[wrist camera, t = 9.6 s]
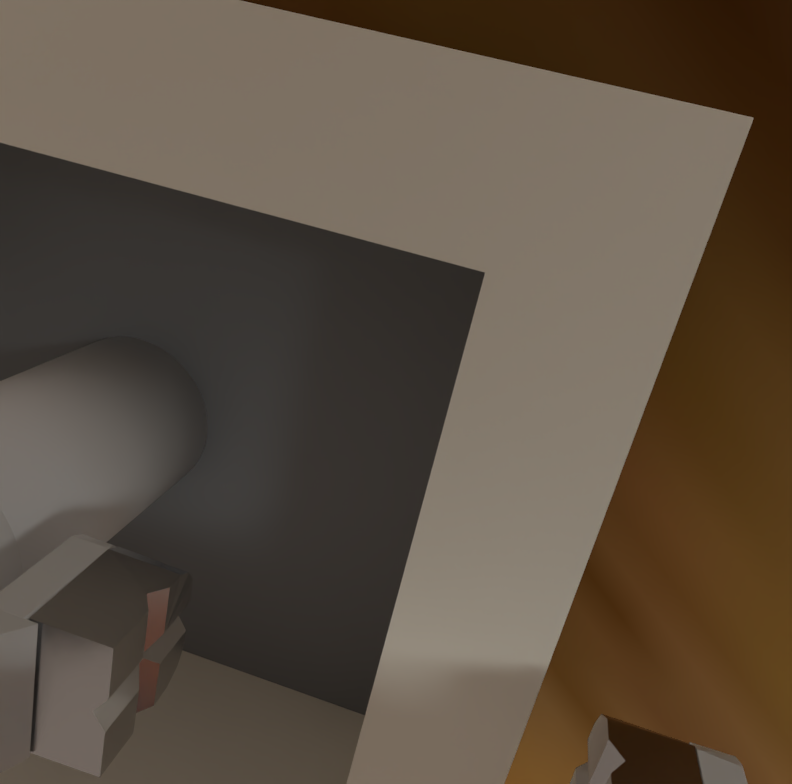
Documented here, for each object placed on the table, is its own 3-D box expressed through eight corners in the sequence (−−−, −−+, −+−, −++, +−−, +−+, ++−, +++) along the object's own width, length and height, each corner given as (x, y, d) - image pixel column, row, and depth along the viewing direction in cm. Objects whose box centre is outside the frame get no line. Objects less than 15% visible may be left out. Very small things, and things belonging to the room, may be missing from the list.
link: (688, 128, 10) (753, 117, 7) (447, 824, 15) (408, 1039, 12) (-157, -69, 12) (-470, -163, 9) (-130, 610, 17) (-322, 737, 14)
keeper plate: (616, 117, 12) (691, 70, 5) (417, 754, 17) (299, 1227, 10) (-127, -57, 14) (-933, -292, 6) (-111, 564, 19) (-555, 837, 11)
